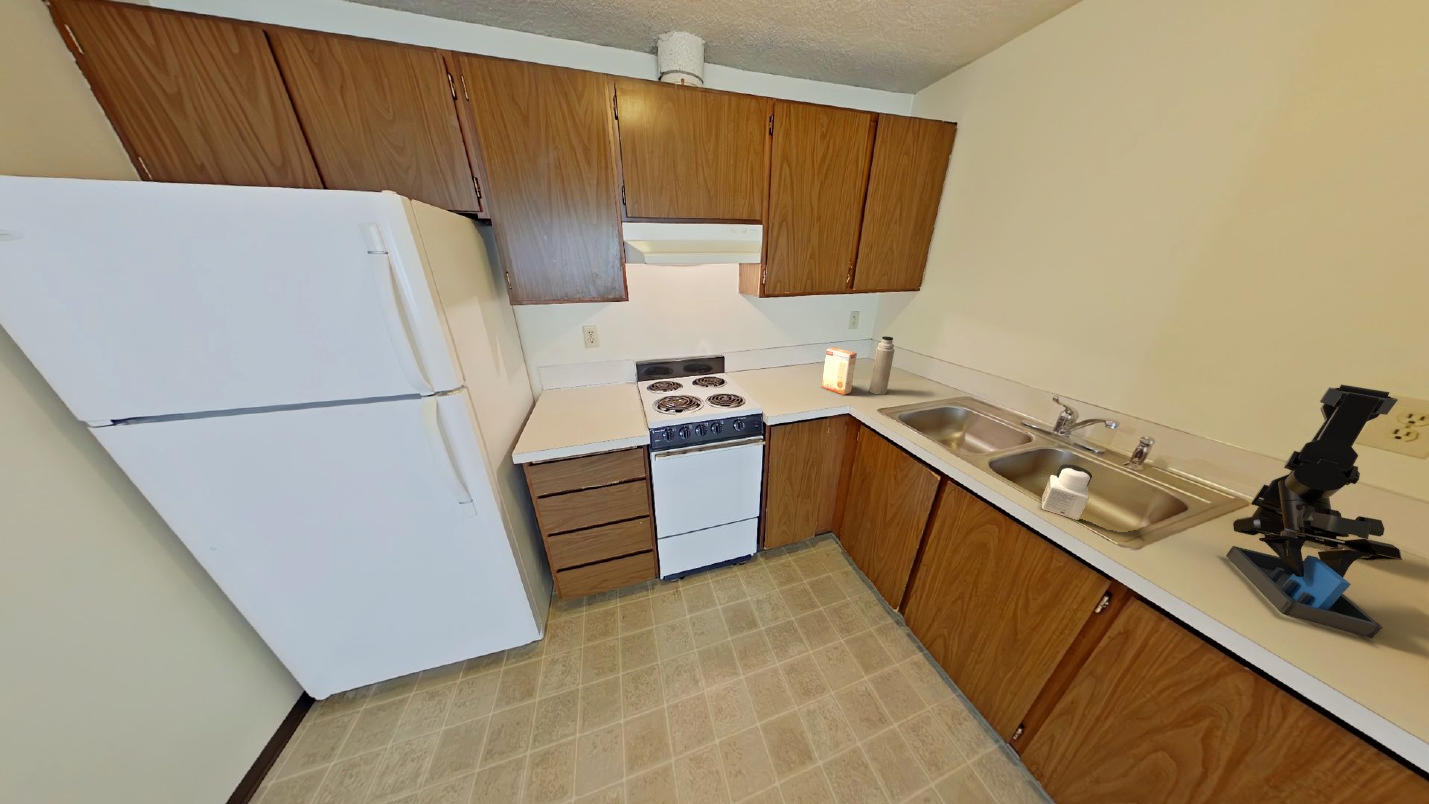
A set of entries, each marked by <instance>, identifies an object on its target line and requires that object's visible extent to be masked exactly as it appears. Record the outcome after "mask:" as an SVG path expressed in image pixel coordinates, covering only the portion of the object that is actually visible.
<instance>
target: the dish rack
mask: <svg viewBox="0 0 1429 804" xmlns="http://www.w3.org/2000/svg"><path fill="white" fill-rule="evenodd" d="M1225 557H1226V558H1227V559H1228V560H1229V561H1230V562H1231V563H1232V564H1233V565H1234V566H1235V568H1237V569H1238V570H1239V571H1240V572H1241V573H1242V575H1244V576H1245V578H1246V579H1248V581H1250V582H1251V584H1252V585H1253V586H1254V587H1255V588H1256V589H1257V590H1258V591H1259V592H1260V593H1261V594H1262V595H1263V596H1264V597H1265V598H1266V599H1267V600H1268V601H1269V602H1270V603H1271V604H1272V606H1274V608H1276V610H1277V611H1279V613H1281V614H1282V615H1285V616H1289V617H1292V618H1296V619H1299V620H1303V621H1306V622H1309V623H1314V624H1317V625H1321V626H1325V627H1329V628H1331V629H1336V630H1340V631H1342V632H1347V633H1350V634H1354V635H1357V636H1361V637H1364V638H1368V639H1374V638H1375V637H1376V636H1377V635H1378V634H1379V633H1380V632H1381V631H1383V629H1384V627H1383V626H1382V625H1381V624H1380V623H1379V622H1377V620H1375V619H1374V618H1373V617H1371V615H1369V614H1368V613H1367V612H1365V611H1364V610H1363V609H1362V608H1361V607H1360V606H1358V605H1357V604H1356V603H1355V602H1353V601H1352V600H1351V599H1350V598H1349V597H1348V596H1347V595H1345V594H1344V593H1343V594H1342V595H1341V596H1340V597H1339V598H1338V599H1337V600H1336V601H1335V602H1334V604H1333V605H1332V606H1331V607H1330V608H1329V609H1328V610H1324V609H1320V608H1317V607H1313V606H1309V605H1306V603H1307V602H1308V601H1309V600H1310V599H1311V598H1312V597H1313V596H1312V595H1311V594H1310V593H1307V592H1303V593H1302V595H1301V596H1300V597H1299V598H1298V599H1297V600H1295V599H1294V598H1293V597H1292V596H1291V595H1290V593H1291V591H1292V590H1293V589H1294V588H1295V587H1296V585H1297V584H1298V582H1297V581H1295V580H1292V579H1289V578H1290V577H1291V575H1292V574H1293V572H1292V571H1291V570H1290V569H1289V567H1288V566H1287V565H1286V564H1285V563H1284V562H1283V560H1282V559H1281V558H1280V557H1279V556H1278V555H1273V554H1268V553H1264V552H1261V551H1256V550H1251V549H1248V548H1244V547H1239V546H1235V545H1232V546H1231V548H1230V549H1229V551H1227V554H1226V555H1225ZM1288 579H1289V581H1288V582H1287V583H1286V581H1287V580H1288ZM1285 583H1286V584H1285ZM1284 584H1285V586H1284V587H1282V586H1283V585H1284Z"/></svg>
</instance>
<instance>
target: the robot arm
mask: <svg viewBox="0 0 1429 804" xmlns="http://www.w3.org/2000/svg"><path fill="white" fill-rule="evenodd" d="M1389 395H1390V391H1385V390H1379V389H1372V388H1365V387H1361V386H1360V387H1358V386H1354V385H1348V384H1340V385H1339V387H1330V386H1329V387H1328V388H1327V389H1326V391H1325V392H1324V394H1323V395H1322V397H1321V398H1320V400H1319V403H1321V404H1322V405H1321V406H1320V408H1319V409H1320V412H1321V415H1322V417H1323V420H1324V421H1323V423H1322V424H1321V425H1320V427H1319V428H1318V430H1317V431H1316V432H1315V434H1314V435H1313V437H1312V438H1311V440H1310V441H1308V442H1305V444H1304V445H1303V447H1302V448H1301V449H1300V450H1299V451H1297V450H1294V451H1292V453H1291V454H1290V455H1289V457H1288V459H1286V462H1285V464H1284V466H1283V469H1286V470H1288V471H1289V472H1288V474H1285V475H1283V476H1280V477H1277V478H1274V479H1272V480H1271V481H1270V483H1269V484H1263V485H1262V486H1261V488H1260V489H1259V490H1258V491H1257V493H1256V494H1255V496H1254V497H1253V499H1252V501H1251V503H1250V505H1252V506H1256V507H1257V508H1256V510H1255V511H1254V512H1253V513H1252V515H1251V516H1246V517H1242V518H1237V519H1235V520H1234V522H1233V523H1232V525H1233V528H1232V529H1233V532H1235V533H1239V534H1244V535H1249V536H1257V535H1259V534H1263V535H1264V537H1258V540H1259V541H1260V542H1262V543H1264V544H1266V545H1267V546H1268V547H1269V548H1270V550H1272V551H1273V552H1274V553H1275V554H1276V556H1278V557H1280V558H1281V559H1282V560H1283V562H1284V563H1285V564H1286V565H1287V566H1288V567H1289V569H1290V570H1291V571H1292V572H1293V573H1294V575H1295V576H1297V577H1304V566H1303V561H1304V559H1303V554H1302V548H1303V547H1304V544H1305V543H1312V544H1316V545H1320V546H1323V547H1324V551H1323V550H1322V551H1317V554H1318V558H1319V559H1320V560H1321V561H1322V562H1324V563H1325V564H1326V565H1327V566H1329V567H1330V568H1331V569H1332V570H1334V571H1335V572H1336V573H1338V574H1339V575H1340V576H1341V577H1343V578H1344V577H1345V576H1346V573H1347V571H1348V570H1349V568H1350V567H1351V565H1352V564H1354V562H1356V561H1358V560H1360V561H1366V562H1367V561H1368V562H1381V561H1386V562H1387V561H1403V557H1402V552H1401V550H1400V548H1399V547H1397V546H1395V545H1394V544H1391V543H1387V542H1382V541H1377V540H1373V539H1369V537H1370V536H1375V537H1382V536H1384V535H1385V534H1384V533H1385V526H1384V523H1383V521H1382V520H1381V519H1377V518H1372V517H1368V516H1367V517H1366V516H1361V515H1358V516H1357V517H1356V518H1355V519H1352V518H1347V517H1342V513H1341V512H1340V510H1338V509H1336V510H1335V509H1333V508H1332V504H1331V499H1330V497H1333V496H1334V495H1335V494H1336V493H1337V492H1338V491H1340V490H1342V488H1344V487H1345V486H1349V485H1351V484H1352V485H1356V484H1357V483H1358V481H1359V480H1360V477H1361V476H1360V475H1361V472H1360V470H1359V466H1357V465H1355V463H1356V462H1357V459H1358V458H1359V454H1358V453H1357V452H1356V450H1355V449H1354V448H1353V445H1354V443H1355V442H1356V441H1357V439H1358V437H1359V436H1360V434H1361V432H1362V430H1363V429H1364V427H1365V426H1366V424H1367V422H1370V421H1372V420H1375V419H1377V418H1378V417H1379V416H1380V415H1386V416H1388V414H1389V413H1390V412H1391V410H1392V409H1393V408H1394V406H1395V405H1396V404H1397V402H1398V401H1399V399H1398V398H1396V397H1392V396H1391V395H1390V396H1389ZM1350 535H1351V536H1356V537H1357V538H1355V539H1354V538H1353V539H1340V538H1349V537H1350Z"/></svg>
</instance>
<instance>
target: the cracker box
mask: <svg viewBox="0 0 1429 804" xmlns="http://www.w3.org/2000/svg"><path fill="white" fill-rule="evenodd" d="M857 355H858V352H854V351H850V350H846V349H842V348H838V347H835V346H834V347H828V348H826V353H825V359H824V368H823V376H822V384H821V388H824V389H826V390H829V391H831V392H834V393H838V394H840V395H842V396H845V395H848V394H851V393H852V387H853V381H854V375H855V369H856V368H855V367H856V362H857Z"/></svg>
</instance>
